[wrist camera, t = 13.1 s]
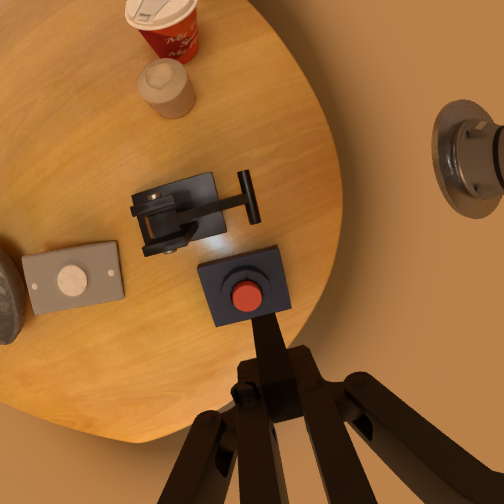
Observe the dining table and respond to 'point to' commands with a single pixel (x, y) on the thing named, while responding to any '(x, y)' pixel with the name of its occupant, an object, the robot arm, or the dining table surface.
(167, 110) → the candle
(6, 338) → the bowl
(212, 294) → the control block
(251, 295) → the power button
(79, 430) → the dining table surface
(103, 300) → the light switch
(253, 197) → the switch lever
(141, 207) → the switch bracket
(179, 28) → the paper cup
